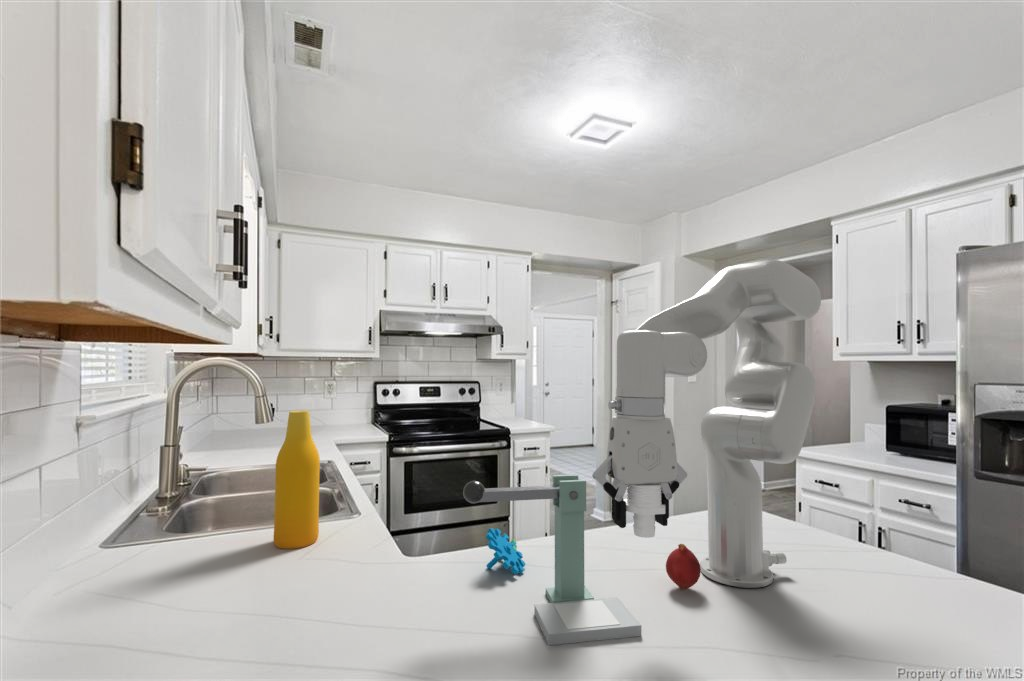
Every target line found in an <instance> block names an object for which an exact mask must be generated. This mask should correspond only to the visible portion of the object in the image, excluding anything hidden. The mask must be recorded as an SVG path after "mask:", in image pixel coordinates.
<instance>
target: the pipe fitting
mask: <svg viewBox="0 0 1024 681" xmlns="http://www.w3.org/2000/svg"><path fill="white" fill-rule="evenodd" d="M626 493H627V494H626V496H627V497H626V498H623V501H625V502H626V512H627V513H633V516H632V517H633V519H632V520H633V526H632V527H633V534H634V535H635V536H636V537H640V538H645V539H646V538H654V537H655V536H656V535H655V534H656V521H655V514H665V505H663V504H662V502H661V484H628V486H627V489H626Z"/></svg>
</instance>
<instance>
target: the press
mask: <svg viewBox="0 0 1024 681" xmlns="http://www.w3.org/2000/svg"><path fill="white" fill-rule="evenodd" d="M555 485H559V499H552V505H553V506H554V586H553V587H545V596H546V597H547V599H548V601H549V602H548V603H547V602H545V603H539V604H536V603H535V604H534V605H533V606H534V610H533V611H534V616H535V618H536V620H537V622H538V625H539V627H540V629H541V632H542V633H543V635H544V638H545V641H546V642H547V645H548V646H555V645H556V646H557V645H564V644H574V643H584V642H594V641H603V640H604V641H605V640H613V639H623V638H633V637H642V624H641V623H640V621H638V620H637V618H636V617H635V616H634V614H632V612H631V611H630V610H629V609H628V607H627V606H626V605H625V604H624V603H623V602H622V601H621V599H619V597H618V596H616V597H608V598H605V597H604V598H595V597H594V595H593V594H592V593H591V592H590V590H589V588H587V587H586V585H585V512H587V480H585V479H579V474H556V475H554V474H553V475H552V486H555Z"/></svg>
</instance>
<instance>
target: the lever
mask: <svg viewBox="0 0 1024 681" xmlns="http://www.w3.org/2000/svg"><path fill="white" fill-rule="evenodd" d="M462 494H463V498H464V500H465V501H467V502H468V503H470V504H478V503H491V502H493V503H495V502H510V501H515V502H516V501H517V502H518V501H531V500H533V501H534V500H551V499H552V500H553V499H559V485H555V486H553V485H536V486H513V487H511V486H510V487H509V486H508V487H490V488H489V487H487V488H486V487H485V486H484V485H483V483H481V482H480V481H477V480H471V481H469V482H467V483H466V484H465V485H464V487H463V492H462Z"/></svg>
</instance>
